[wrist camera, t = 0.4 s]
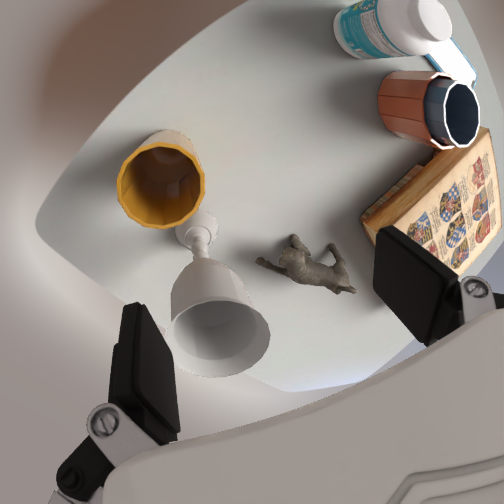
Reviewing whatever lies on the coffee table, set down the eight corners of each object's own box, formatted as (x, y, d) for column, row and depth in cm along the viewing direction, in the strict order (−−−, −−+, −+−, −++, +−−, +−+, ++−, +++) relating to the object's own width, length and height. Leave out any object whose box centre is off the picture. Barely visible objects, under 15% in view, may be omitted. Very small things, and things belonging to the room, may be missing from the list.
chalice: (156, 215, 31) (142, 325, 16) (211, 190, 31) (248, 281, 16) (183, 265, 35) (197, 388, 20) (234, 243, 35) (282, 355, 20)
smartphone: (427, 9, 23) (478, 75, 29) (422, 10, 24) (473, 75, 30) (413, 38, 26) (466, 105, 32) (407, 39, 27) (461, 104, 33)
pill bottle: (369, 6, 23) (446, -14, 12) (387, 56, 27) (468, 54, 16) (321, 10, 23) (394, -22, 12) (342, 64, 27) (423, 57, 16)
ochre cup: (132, 139, 26) (104, 159, 16) (189, 123, 27) (194, 131, 17) (147, 191, 30) (132, 239, 19) (201, 176, 30) (214, 215, 20)
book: (393, 311, 50) (481, 223, 46) (411, 332, 45) (502, 236, 41) (343, 223, 38) (459, 121, 34) (368, 245, 33) (488, 128, 28)
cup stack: (374, 70, 28) (435, 69, 19) (423, 74, 29) (481, 78, 20) (380, 139, 33) (439, 157, 24) (427, 135, 34) (482, 152, 25)
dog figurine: (343, 247, 39) (371, 275, 33) (322, 281, 41) (346, 312, 35) (271, 218, 35) (293, 246, 28) (250, 258, 37) (267, 293, 30)
